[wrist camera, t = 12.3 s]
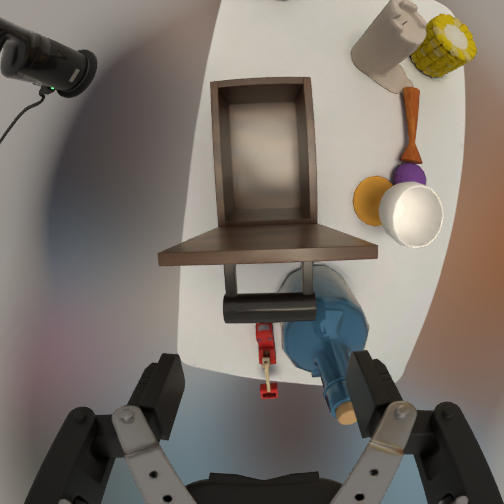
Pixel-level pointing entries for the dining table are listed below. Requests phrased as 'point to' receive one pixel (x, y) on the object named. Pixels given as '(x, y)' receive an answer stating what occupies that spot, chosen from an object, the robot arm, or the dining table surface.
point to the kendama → (411, 142)
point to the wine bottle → (327, 337)
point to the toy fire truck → (266, 357)
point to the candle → (390, 44)
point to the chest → (264, 151)
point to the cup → (400, 210)
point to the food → (444, 46)
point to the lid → (268, 251)
